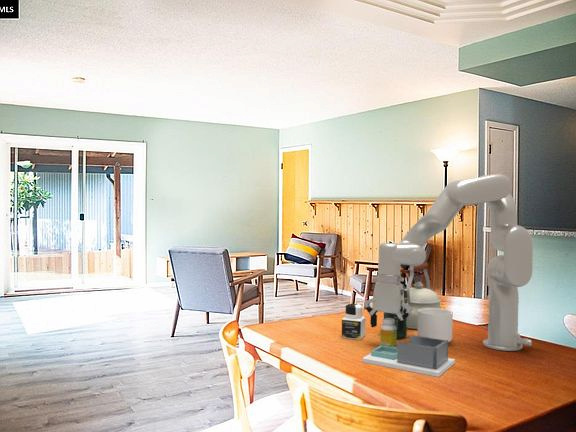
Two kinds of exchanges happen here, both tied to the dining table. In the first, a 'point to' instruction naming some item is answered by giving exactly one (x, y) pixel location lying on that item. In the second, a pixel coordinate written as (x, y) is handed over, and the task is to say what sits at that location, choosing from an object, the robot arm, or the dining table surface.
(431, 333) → the handleless ceramic cup
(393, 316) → the coffee jar
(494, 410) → the dining table surface
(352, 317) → the medicine bottle
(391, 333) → the supplement bottle
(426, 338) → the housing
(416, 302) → the kettle
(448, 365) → the base plate
